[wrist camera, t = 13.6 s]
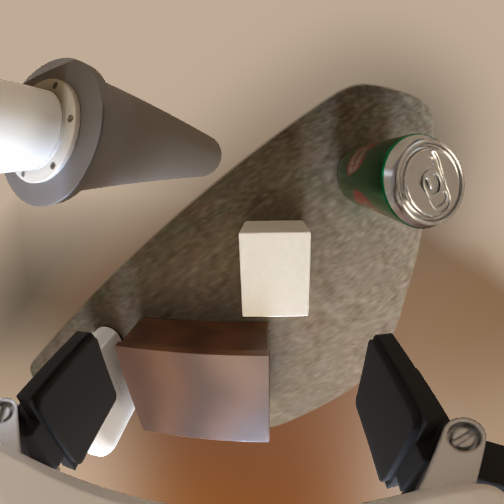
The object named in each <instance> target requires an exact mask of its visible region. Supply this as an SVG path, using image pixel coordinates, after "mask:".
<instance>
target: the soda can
mask: <svg viewBox="0 0 504 504" xmlns="http://www.w3.org/2000/svg"><path fill="white" fill-rule="evenodd" d="M337 180H338V184H339V187H340V189H341V191H342V192H343V194H344V195H345V196H346V197H347V198H348V199H349V200H350V201H352V202H354V203H356V204H358V205H361V206H363V207H366V208H368V209H371V210H373V211H375V212H378V213H380V214H382V215H385V216H387V217H389V218H392V219H394V220H396V221H399V222H401V223H403V224H405V225H408V226H410V227H413V228H418V229H425V228H430V227H433V226H436V225H438V224H441V223H444V222H446V221H447V220H449V219H450V218H451V217H452V216H453V215H454V214H455V213H456V211H457V210H458V208H459V206H460V204H461V202H462V199H463V194H464V183H465V182H464V174H463V170H462V167H461V164H460V162H459V160H458V158H457V157H456V155H455V154H454V152H453V151H452V150H451V149H450V148H449V147H448V146H446V145H445V144H443V143H441V142H440V141H438V140H437V139H435V138H433V137H431V136H429V135H426V134H410V135H405V136H401V137H397V138H392V139H388V140H384V141H380V142H376V143H372V144H368V145H364V146H360V147H356V148H354V149H351V150H350V151H348V152H347V153H346V154H345V155H344V156H343V157H342V159H341V161H340V163H339V165H338V169H337Z"/></svg>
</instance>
